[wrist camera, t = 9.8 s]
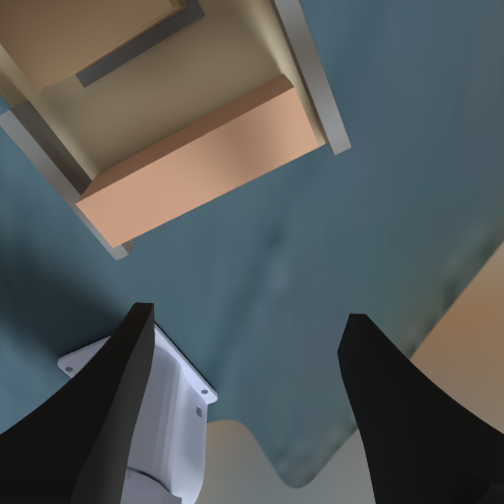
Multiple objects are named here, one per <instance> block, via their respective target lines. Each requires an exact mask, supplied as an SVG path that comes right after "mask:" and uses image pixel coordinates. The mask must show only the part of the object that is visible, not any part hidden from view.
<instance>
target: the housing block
mask: <svg viewBox="0 0 504 504" xmlns="http://www.w3.org/2000/svg"><path fill="white" fill-rule="evenodd" d="M185 7H187V4H186V2H185V0H0V44H1V45H2V47H3V48H4V49H5V50H6V52H7V53H8V54H9V56H10V57H11V58H12V60H13V61H14V62H15V63H16V65H17V66H18V67H19V69H20V70H21V71H22V72H23V74H24V75H25V76H26V78H27V79H28V80H29V82H30V83H31V84H32V85H33V87H34V88H35V89H36V91H37V92H38V91H41V90H43V89H45V88H47V87H49V86H51V85H53V84H56V83H58V82H60V81H62V80H64V79H66V78H68V77H70V76H73V75H75V74H77V73H79V72H81V71H83V70H85V69H87V68H89V67H90V66H92V65H94V64H95V63H97V62H98V61H100V60H102V59H103V58H105V57H106V56H108V55H110V54H111V53H113V52H114V51H116V50H118V49H119V48H121V47H123V46H124V45H126V44H127V43H129V42H131V41H132V40H134V39H135V38H137V37H139V36H140V35H142V34H143V33H145V32H147V31H148V30H150V29H151V28H153V27H155V26H156V25H158V24H160V23H161V22H163V21H164V20H166V19H168V18H169V17H171V16H172V15H174V14H176V13H177V12H179V11H180V10H182V9H184V8H185Z"/></svg>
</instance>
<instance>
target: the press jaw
mask: <svg viewBox="0 0 504 504" xmlns="http://www.w3.org/2000/svg"><path fill="white" fill-rule="evenodd" d="M318 147H319V145H318V143H317V140H316V138H315V135H314V133H313V130H312V128H311V125H310V123H309V120H308V118H307V116H306V113H305V111H304V108H303V106H302V103H301V101H300V98H299V96H298V93H297V91H296V89H295V86H294V85H293V84H292V83H291V82H290V80H289V79H288V78H287V77H286V75H285V74H282V75H280V76H278V77H276V78H275V79H273V80H271V81H269V82H267V83H265V84H264V85H262V86H260V87H258V88H256V89H254V90H253V91H251V92H249V93H247V94H245V95H243V96H241V97H240V98H238V99H236V100H234V101H232V102H230V103H229V104H227V105H225V106H223V107H221V108H219V109H218V110H216V111H214V112H212V113H210V114H208V115H206V116H205V117H203V118H201V119H199V120H197V121H195V122H194V123H192V124H190V125H188V126H186V127H184V128H183V129H181V130H179V131H177V132H175V133H173V134H171V135H170V136H168V137H166V138H164V139H162V140H160V141H159V142H157V143H155V144H153V145H151V146H149V147H148V148H146V149H144V150H142V151H140V152H138V153H136V154H135V155H133V156H131V157H129V158H127V159H125V160H124V161H122V162H120V163H118V164H116V165H114V166H113V167H111V168H109V169H107V170H105V171H103V172H101V173H100V174H98V175H97V176H96V177H95V178H94V180H93V181H92V182H91V184H90V185H89V186H88V188H87V189H86V190H85V191H84V193H83V194H82V195H81V197H80V198H79V199H78V201H77V202H76V203H75V204H76V205H77V206H78V207H79V209H80V210H81V211H82V212H83V213H84V215H85V216H86V217H87V218H88V219H89V220H90V222H91V223H92V224H93V225H94V226H95V228H96V229H97V230H98V231H99V232H100V233H101V235H102V236H103V237H104V238H105V239H106V241H107V242H108V243H109V244H110V245H111V246H112V248H114V247H116V246H118V245H120V244H122V243H125V242H127V241H129V240H131V239H133V238H135V237H137V236H139V235H141V234H143V233H145V232H147V231H149V230H151V229H153V228H155V227H157V226H159V225H161V224H163V223H165V222H167V221H169V220H171V219H173V218H175V217H177V216H180V215H182V214H184V213H186V212H188V211H190V210H192V209H194V208H196V207H198V206H200V205H202V204H204V203H206V202H208V201H210V200H212V199H214V198H216V197H218V196H220V195H222V194H224V193H226V192H228V191H230V190H232V189H235V188H237V187H239V186H241V185H243V184H245V183H247V182H249V181H251V180H253V179H255V178H257V177H259V176H261V175H263V174H265V173H267V172H269V171H271V170H273V169H275V168H277V167H279V166H281V165H283V164H285V163H287V162H290V161H292V160H294V159H296V158H298V157H300V156H302V155H304V154H306V153H308V152H310V151H312V150H314V149H316V148H318Z"/></svg>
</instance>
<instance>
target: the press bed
mask: <svg viewBox="0 0 504 504" xmlns="http://www.w3.org/2000/svg"><path fill="white" fill-rule="evenodd" d="M185 2H186V4H187V7H185V8H184V9H182V10H180V11H179V12H177V13H176V14H174V15H172V16H171V17H169V18H168V19H166V20H164V21H163V22H161V23H160V24H158V25H156V26H155V27H153V28H151V29H150V30H148V31H147V32H145V33H143V34H142V35H140V36H139V37H137V38H135V39H134V40H132V41H131V42H129V43H127V44H126V45H124V46H123V47H121V48H119V49H118V50H116V51H114V52H113V53H111V54H110V55H108V56H106V57H105V58H103V59H102V60H100V61H98V62H97V63H95V64H94V65H92V66H90V67H89V68H87V69H85V70H83V71H81V72H79V73H77V74H75V75H73V76H70V77H68V78H66V79H64V80H62V81H60V82H58V83H56V84H53V85H51V86H49V87H47V88H45V89H43V90H41V91H38V92H37V91H36V89H35V88H34V87H33V85H32V84H31V83H30V82H29V80H28V79H27V78H26V76H25V75H24V74H23V72H22V71H21V70H20V69H19V67H18V66H17V65H16V63H15V62H14V61H13V60H12V58H11V57H10V56H9V54H8V53H7V52H6V50H5V49H4V48H3V47H2V45H1V44H0V94H1V95H2V97H3V98H4V99H5V100H6V102H7V103H8V104H9V105H10V106H11V108H12V109H10V110H8V111H6V112H5V113H3V114H2V115H0V126H1V127H2V128H3V129H4V130H5V131H6V133H7V134H8V135H9V136H10V137H11V138H12V140H13V141H14V142H15V143H16V144H17V145H18V147H19V148H20V149H21V150H22V151H23V152H24V154H25V155H26V156H27V157H28V158H29V159H30V161H31V162H32V163H33V164H34V165H35V166H36V168H37V169H38V170H39V171H40V172H41V173H42V175H43V176H44V177H45V178H46V179H47V180H48V182H49V183H50V184H51V185H52V186H53V187H54V189H55V190H56V191H57V192H58V193H59V194H60V196H61V197H62V198H63V199H64V200H65V201H66V203H67V204H68V205H69V206H70V207H71V208H72V210H73V211H74V212H75V213H76V214H77V215H78V217H79V218H80V219H81V220H82V221H83V222H84V224H85V225H86V226H87V227H88V228H89V229H90V231H91V232H92V233H93V234H94V235H95V236H96V238H97V239H98V240H99V241H100V242H101V243H102V245H103V246H104V247H105V248H106V249H107V250H108V252H109V253H110V254H111V255H112V256H113V257H114V259H115V260H116V261H117V260H119V259H121V258H123V257H125V256H127V255H129V254H130V251H131V249H132V246H133V244H134V241H135V238H136V237H135V238H133V239H131V240H129V241H127V242H125V243H122V244H120V245H118V246H116V247H114V248H112V246H111V245H110V244H109V243H108V242H107V241H106V239H105V238H104V237H103V236H102V235H101V233H100V232H99V231H98V230H97V229H96V228H95V226H94V225H93V224H92V223H91V222H90V220H89V219H88V218H87V217H86V216H85V215H84V213H83V212H82V211H81V210H80V209H79V207H78V206H77V205H76V204H75V203H76V202H77V201H78V199H79V198H80V197H81V195H82V194H83V193H84V191H85V190H86V189H87V188H88V186H89V185H90V184H91V182H92V181H93V180H94V178H95V177H96V176H97V175H98V174H100V173H101V172H103V171H105V170H107V169H109V168H111V167H113V166H114V165H116V164H118V163H120V162H122V161H124V160H125V159H127V158H129V157H131V156H133V155H135V154H136V153H138V152H140V151H142V150H144V149H146V148H148V147H149V146H151V145H153V144H155V143H157V142H159V141H160V140H162V139H164V138H166V137H168V136H170V135H171V134H173V133H175V132H177V131H179V130H181V129H183V128H184V127H186V126H188V125H190V124H192V123H194V122H195V121H197V120H199V119H201V118H203V117H205V116H206V115H208V114H210V113H212V112H214V111H216V110H218V109H219V108H221V107H223V106H225V105H227V104H229V103H230V102H232V101H234V100H236V99H238V98H240V97H241V96H243V95H245V94H247V93H249V92H251V91H253V90H254V89H256V88H258V87H260V86H262V85H264V84H265V83H267V82H269V81H271V80H273V79H275V78H276V77H278V76H280V75H282V74H285V75H286V77H287V78H288V79H289V80H290V82H291V83H292V84H293V85H294V86H295V89H296V91H297V93H298V96H299V98H300V101H301V103H302V106H303V108H304V111H305V113H306V116H307V118H308V120H309V123H310V125H311V128H312V130H313V133H314V135H315V138H316V140H317V143H318V145H319V147H320V146H322V145H324V144H327V145H328V147H329V148H330V150H331V151H332V152H333V154H334V155H337V154H339V153H341V152H343V151H345V150H347V149H349V148H351V145H350V142H349V139H348V137H347V134H346V131H345V128H344V125H343V123H342V120H341V117H340V114H339V112H338V109H337V106H336V103H335V100H334V98H333V95H332V92H331V89H330V87H329V84H328V81H327V78H326V75H325V73H324V70H323V67H322V64H321V62H320V59H319V56H318V53H317V50H316V48H315V45H314V42H313V39H312V37H311V34H310V31H309V28H308V25H307V23H306V20H305V17H304V14H303V11H302V9H301V6H300V3H299V0H185Z"/></svg>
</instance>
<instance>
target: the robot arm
mask: <svg viewBox="0 0 504 504" xmlns="http://www.w3.org/2000/svg"><path fill="white" fill-rule="evenodd" d="M337 353H338V359H339V365H340V370H341V375H342V379H343V382H344V385H345V388H346V392H347V395H348V398H349V401H350V404H351V407H352V410H353V413H354V416H355V419H356V422H357V425H358V428H359V431H360V434H361V438H362V441H363V445H364V449H365V453H366V458H367V462H368V467H369V471H370V477H371V482H372V486H373V492H374V497H375V502H376V504H504V434H503V433H501V432H500V431H498V430H496V429H495V428H493V427H492V426H490V425H489V424H487V423H486V422H484V421H483V420H481V419H480V418H478V417H477V416H475V415H474V414H473V413H471V412H470V411H468V410H467V409H466V408H464V407H463V406H461V405H460V404H459V403H457V402H456V401H455V400H454V399H452V398H451V397H450V396H448V395H447V394H446V393H445V392H444V391H443V390H441V389H440V388H439V387H438V386H436V385H435V384H434V383H433V382H432V381H431V380H430V379H428V378H427V377H426V376H425V375H424V374H423V373H422V372H421V371H420V370H419V369H418V368H417V367H415V366H414V365H413V364H412V363H411V362H410V361H409V360H408V359H407V358H406V357H405V356H404V355H403V354H402V353H401V351H400V350H399V349H398V348H397V347H396V346H395V345H394V344H393V343H392V342H391V341H390V340H389V339H388V338H387V337H386V336H385V334H384V333H383V332H382V331H381V330H380V329H379V328H378V327H377V326H376V325H375V324H374V322H373V321H372V320H371V319H370V318H369V317H368V316H367V315H366V314H351V313H350V315H349V318H348V321H347V324H346V327H345V330H344V333H343V336H342V339H341V342H340V345H339V348H338V351H337ZM57 366H58V367H59V368H60V369H61V370H63V371H64V372H65V373H66V374H67V375H69V376H70V377H71V378H72V379H70V380H69V381H68V382H67V383H66V384H65V385H64V386H63V387H62V388H61V389H59V390H58V391H57V392H56V393H55V394H54V395H52V396H51V397H50V398H49V399H48V400H47V401H45V402H44V403H43V404H42V405H40V406H39V407H38V408H37V409H35V410H34V411H33V412H31V413H30V414H29V415H27V416H26V417H24V418H23V419H22V420H20V421H19V422H18V423H16V424H15V425H14V426H12V427H11V428H9V429H8V430H7V431H5V432H4V433H2V434H1V435H0V504H194V503H195V501H196V499H197V497H198V495H199V492H200V489H201V486H202V482H203V477H204V462H205V442H206V423H207V404H210V403H213V402H215V401H216V400H217V393H216V392H215V391H214V389H213V388H212V387H211V386H210V385H209V384H208V383H207V382H206V380H205V379H204V378H203V377H202V376H201V375H200V374H199V373H198V371H197V370H196V369H195V368H194V367H193V366H192V365H191V364H190V362H189V361H188V360H187V359H186V358H185V357H184V356H183V355H182V353H181V352H180V351H179V350H178V349H177V348H176V347H175V346H174V344H173V343H172V342H171V341H170V340H169V339H168V338H167V337H166V335H165V334H164V333H163V332H162V331H161V330H160V329H159V328H158V326H157V325H156V324H155V323H154V303H137V302H136V303H135V304H134V305H133V306H132V307H131V309H130V311H129V312H128V314H127V315H126V316H125V318H124V319H123V321H122V322H121V323H120V325H119V326H118V327H117V329H116V330H115V331H114V332H113V334H112V335H111V336H109V337H107V338H104V339H102V340H100V341H97V342H95V343H93V344H90V345H88V346H86V347H84V348H81V349H79V350H77V351H74V352H72V353H70V354H68V355H65V356H63V357H61V358H59V360H58V362H57Z"/></svg>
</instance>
